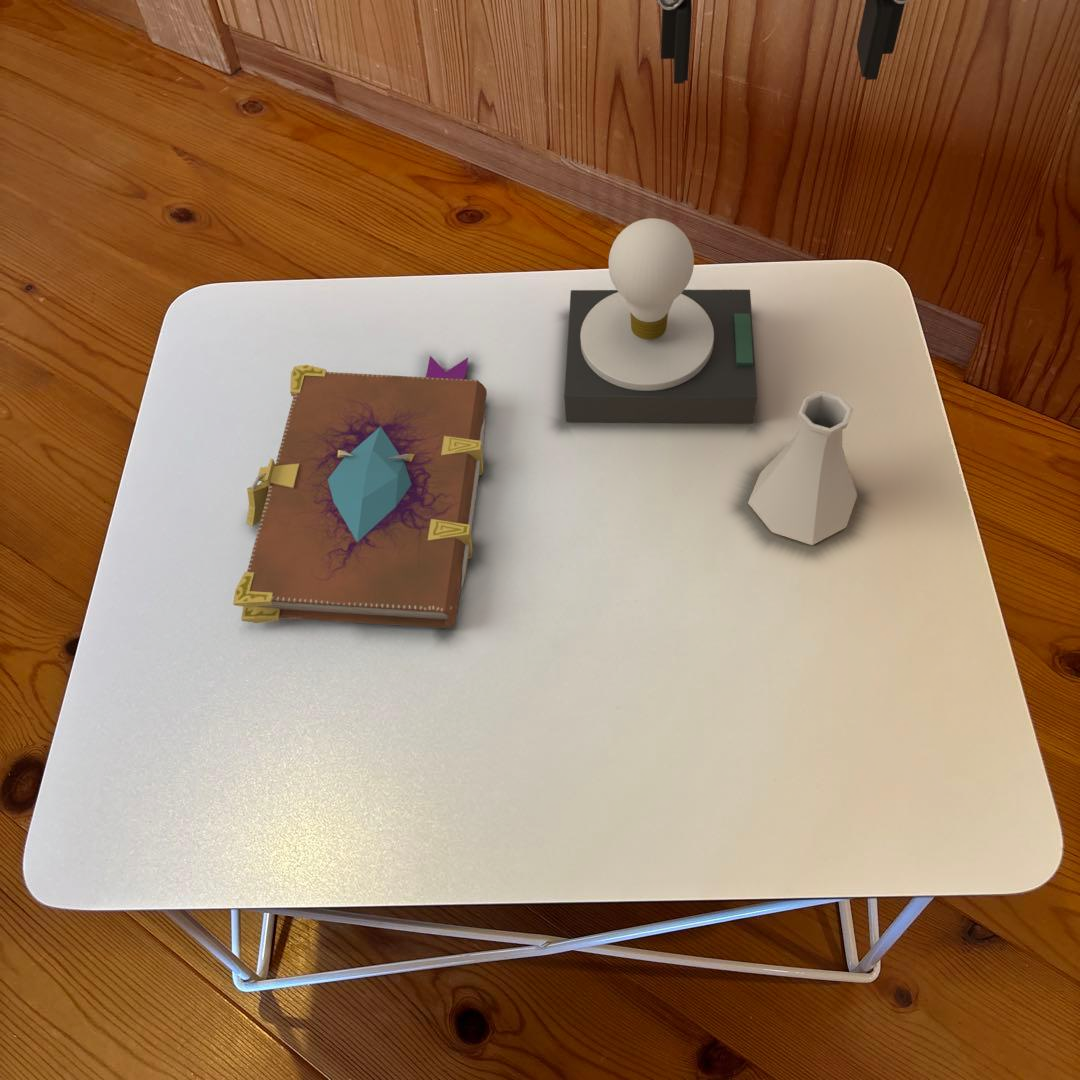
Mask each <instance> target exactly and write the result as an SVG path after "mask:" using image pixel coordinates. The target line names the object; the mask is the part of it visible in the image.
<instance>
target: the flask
mask: <svg viewBox="0 0 1080 1080" xmlns="http://www.w3.org/2000/svg"><path fill="white" fill-rule="evenodd" d="M853 411H854V408H853V407H852V406H851V405H850V404H849V403H848V402H847V401H846V400H845V398H843V396H841V395H839V394H835V393H832V392H829V391H825V390H818V391H816V392H814V393H812V394H810V395H808V396H806V397H804V399H803V401H802V403H801V406H800V408H799V411H798V413H797V418H798V419H799V420H800V425H799V428H798V430H797V432H796V434H795V435H794V437H793V438H792V439H791V440H790V441H789V442H788V443H787V444H786V445H785V447H784V448H783V449H782V450H781V451H780V452H779V453H778V454H777V455H776V456H775V457H774V458H773V459H772V460H771V461H770V462H769V463H768V464H767V465H766V466H765V467H764V468H763V469H762V471H760V473H759V476H758V478H757V480H756V483H755V485H754V487H753V490H752V492H751V495H750V496H749V499H748V502H747V504H748V505H749V506H750V507H751V509H752V510H753V511H754V513H755V514H756V515H757V516H758V517H759V519H760V520H761V521H762V522H763V524H765V526H766V527H767V528H768V529H769V531H770V532H771V533H773V534H776V535H779V536H783V537H784V538H785V537H786V538H789V539H792V540H794V541H797V542H801V543H804V544H806V545H807V544H808V545H810V546H814V545H815V544H817V543H819V542H821V541H823V540H826V539H827V538H829V537H831V536H833V535H834V534H836V533H838V532H840V531H842V530H844V529H846V528H847V527H848V524H849V521H850V518H851V515H852V512H853V510H854V507H855V503H856V501H857V498H858V492H857V490H856V489H857V488H856V487H855V484H854V480H853V478H852V475H851V471H850V469H849V465H848V461H847V458H846V455H845V450H844V447H843V430H845V429H846V428H847V427H848V425H849V422H850V419H851V416H852V415H853Z"/></svg>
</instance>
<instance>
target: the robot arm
mask: <svg viewBox="0 0 1080 1080" xmlns="http://www.w3.org/2000/svg"><path fill="white" fill-rule="evenodd" d="M911 1H912V0H865V2H864V7H863V12H862V17H861V21H860V22H861V23H860V27H859V31H858V36H857V41H856V51H857V57H858V64H859V67H860V68H859V69H860V74H861V77H862V78H865V80H866V81H868V80H869V81H874V80H877V79H878V77H879V72H880V67H881V63H882V59H883V55H892V54H893V53H894V51H895V47H896V42H897V39H898V36H899V35H898V34H899V30H900V26H901V22H902V18H903V13H904V9H905V6H906V4H907V3H909V2H911ZM692 2H693V1H692V0H657V3H658V5H659V6H660V8H661V28H660V29H661V31H660V60H673V84H674V85H679V84H680V85H681V84H685V82H687V81H689V66H690V50H691V33H692V20H693V19H692V17H693V9H692V7H693V6H692V5H693V4H692Z"/></svg>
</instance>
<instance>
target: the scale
mask: <svg viewBox="0 0 1080 1080" xmlns="http://www.w3.org/2000/svg"><path fill="white" fill-rule="evenodd" d="M754 342H755V341H754V327H753V312H752V298H751V290H750V289H684V291H683V292H682V293H681V294H680V295H679V296H678V297H677V298H675V299H674V301H673V303H672V306H671V308H670V310H669V312H668V319H667V327H666V331H665V333H664V334H663V335H662V336H660V337H659V338H656V339H652V340H646V339H641V338H639V337H637V336H636V335H635V334H634V333H633V332H632V329H631V314H630V310H629V308H628V306H627V303H626V300H625V298H624V297H623V296H622V295H621V294H620V293H619V292H618V291H617V289H571V290H570V297H569V311H568V329H567V345H566V346H567V347H566V359H565V360H566V361H565V377H564V378H565V379H564V394H563V397H564V398H563V399H564V413H565V416H564V417H565V422H566V423H634V424H635V423H637V424H638V423H639V424H640V423H642V424H643V423H647V424H649V423H650V424H651V423H652V424H653V423H659V424H662V423H664V424H753V423H754V419H755V413H756V409H757V402H758V386H757V384H758V383H757V371H756V357H755V343H754Z"/></svg>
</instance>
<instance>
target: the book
mask: <svg viewBox="0 0 1080 1080" xmlns="http://www.w3.org/2000/svg"><path fill="white" fill-rule="evenodd" d="M468 362H469V357H466V358H465V359H463V360H462V361H460V362H459V363H457V364H455V365H454V366H452V367H451V368H450V369H448V370H445V369H444V368H443V367H442V365H440V364H439V363H438V362H437V361H436V360H435V359H434V358H433V357H432V356H431V355H429V359H428V363H427V369H426V374H425V376H409V375H408V376H407V375H389V374H371V373H350V372H333V371H327V369H326V368H322V367H317V366H314V365H309V364H301V365H294V366H293V368H292V370H291V372H290V389H289V390H290V391H289V392H290V396H291V397H292V400H291V404H290V407H289V412H288V415H287V419H286V423H285V427H284V430H283V435H282V438H281V442H280V444H279V445H280V446H279V449H278V453H277V457H276V460H274V458H270V459H269V462H268V466H260V467H259V470H258V474H257V477H256V478H255V480H254V482H253V484H252V486H249V487H247V488H246V490H247V500H248V509H247V510H248V511H247V519H246V524H247V525H248V526H251V527H254V526H256V525H257V524H258V523H259V525H258V528H257V533H256V537H255V540H254V544H253V547H252V551H251V555H250V559H249V563H248V566H247V570H246V571H244V573H243V574H242V576H241V578H240V580H239V582H238V584H237V586H236V588H235V590H234V594H233V602H232V604H233V606H238V607H242V612H241V617H240V619H241V622H246V623H252V624H263V623H272V622H280V621H281V619H290V620H291V619H292V620H308V621H322V622H323V621H325V622H340V623H341V622H342V623H356V624H358V623H359V624H374V625H390V626H407V627H420V628H421V627H422V628H438V629H449V628H450V627H452V626H454V625H455V623H457V616H458V610H459V603H460V595H461V590H462V591H463V587H464V582H465V578H466V575H467V568H468V560H469V559H472V558H473V550H474V548H473V539H472V531H473V524H474V514H475V507H476V502H477V501H476V499H477V493H478V487H479V486H478V485H479V479H480V476H483V473H484V457H483V448H484V440H485V431H486V430H485V429H486V428H485V427H486V417H484V416H485V408H486V403H487V402H486V401H487V396H488V395H487V394H488V393H487V392H488V391H487V388H486V387H485V385H484V384H483V383H482V382H481V381H479V380H478V379H468V378H467V379H466V375H467V369H468ZM259 482H260V483H259Z"/></svg>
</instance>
